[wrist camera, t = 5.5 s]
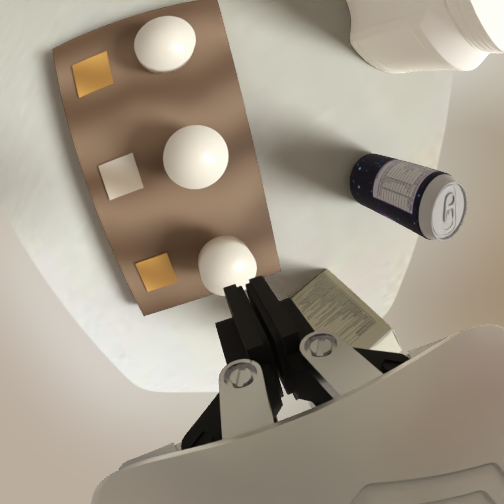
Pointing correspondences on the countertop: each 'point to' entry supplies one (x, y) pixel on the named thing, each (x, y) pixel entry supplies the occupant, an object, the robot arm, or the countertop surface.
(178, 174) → the button middle
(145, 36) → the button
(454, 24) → the jar
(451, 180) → the beverage can
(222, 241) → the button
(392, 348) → the skincare box
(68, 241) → the countertop surface
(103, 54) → the button board
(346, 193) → the countertop surface
